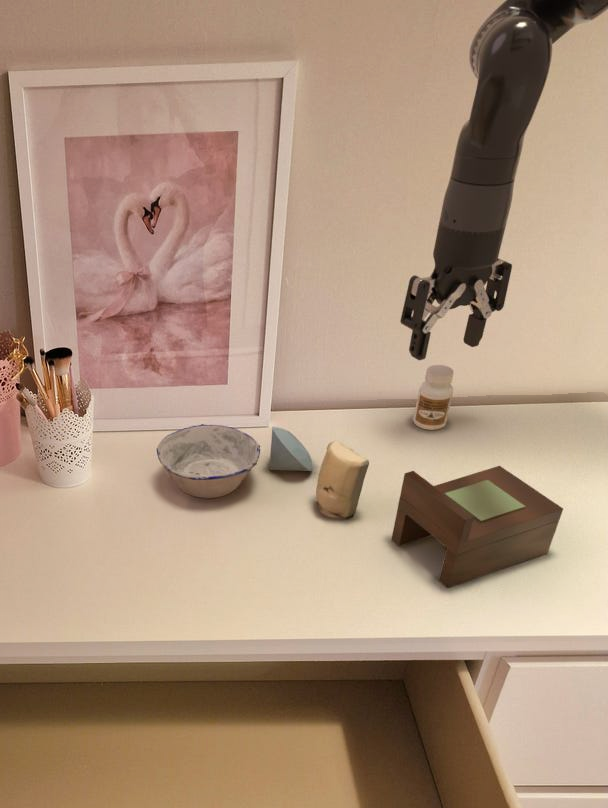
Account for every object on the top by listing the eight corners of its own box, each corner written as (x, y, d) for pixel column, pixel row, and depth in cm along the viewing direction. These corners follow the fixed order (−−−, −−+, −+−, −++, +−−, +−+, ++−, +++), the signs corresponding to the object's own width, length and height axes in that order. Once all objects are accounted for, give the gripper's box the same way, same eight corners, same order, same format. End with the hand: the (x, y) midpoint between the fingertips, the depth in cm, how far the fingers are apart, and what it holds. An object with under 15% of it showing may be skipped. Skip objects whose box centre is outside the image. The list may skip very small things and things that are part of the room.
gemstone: (254, 463, 109) (284, 435, 107) (245, 439, 115) (274, 412, 113) (294, 500, 112) (324, 474, 110) (283, 475, 118) (311, 450, 116)
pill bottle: (412, 429, 119) (423, 376, 114) (412, 414, 123) (423, 361, 117) (446, 432, 119) (458, 378, 113) (445, 416, 122) (457, 364, 116)
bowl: (228, 446, 118) (230, 414, 115) (276, 493, 109) (279, 459, 106) (141, 469, 115) (140, 436, 112) (184, 519, 106) (184, 485, 103)
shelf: (487, 508, 105) (506, 442, 99) (547, 553, 98) (572, 484, 92) (391, 539, 101) (404, 473, 95) (447, 588, 94) (465, 519, 88)
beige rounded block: (365, 502, 107) (374, 444, 102) (357, 525, 104) (366, 467, 98) (318, 494, 109) (326, 437, 103) (309, 517, 105) (316, 459, 100)
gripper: (445, 238, 98) (417, 374, 109) (543, 217, 102) (507, 350, 113) (403, 220, 103) (381, 351, 114) (499, 201, 107) (468, 330, 118)
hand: (444, 351), depth 113 cm, fingers open, 8 cm apart
